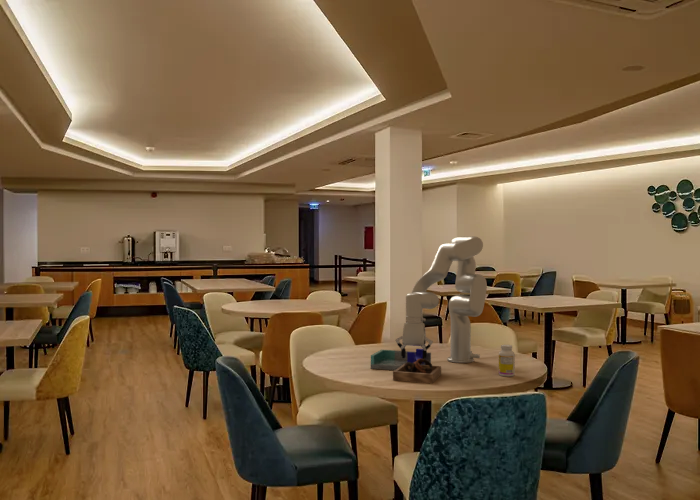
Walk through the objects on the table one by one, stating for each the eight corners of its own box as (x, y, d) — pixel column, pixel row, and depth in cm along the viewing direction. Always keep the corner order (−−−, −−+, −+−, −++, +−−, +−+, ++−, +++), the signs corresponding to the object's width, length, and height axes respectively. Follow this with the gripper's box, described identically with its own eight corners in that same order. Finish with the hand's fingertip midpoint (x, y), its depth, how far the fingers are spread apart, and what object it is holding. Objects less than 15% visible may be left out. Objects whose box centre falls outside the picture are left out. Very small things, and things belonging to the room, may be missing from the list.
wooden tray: (441, 374, 263) (441, 366, 263) (432, 383, 246) (432, 374, 246) (404, 371, 269) (404, 363, 269) (393, 380, 251) (393, 371, 251)
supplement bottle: (502, 373, 266) (502, 343, 266) (517, 375, 262) (517, 345, 262) (495, 375, 261) (496, 345, 261) (510, 377, 257) (510, 347, 257)
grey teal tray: (431, 365, 283) (431, 352, 283) (423, 372, 267) (423, 358, 267) (381, 362, 291) (381, 349, 291) (370, 368, 275) (370, 355, 275)
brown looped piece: (425, 373, 267) (432, 359, 263) (429, 387, 258) (436, 372, 255) (399, 367, 264) (406, 352, 261) (402, 381, 256) (409, 366, 252)
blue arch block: (414, 361, 283) (414, 348, 283) (423, 362, 281) (423, 349, 281) (404, 365, 272) (404, 352, 272) (413, 366, 270) (413, 353, 270)
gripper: (434, 320, 277) (434, 358, 277) (397, 318, 283) (397, 355, 283) (431, 322, 270) (431, 361, 270) (393, 320, 276) (393, 358, 276)
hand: (413, 358), depth 277 cm, fingers open, 9 cm apart
